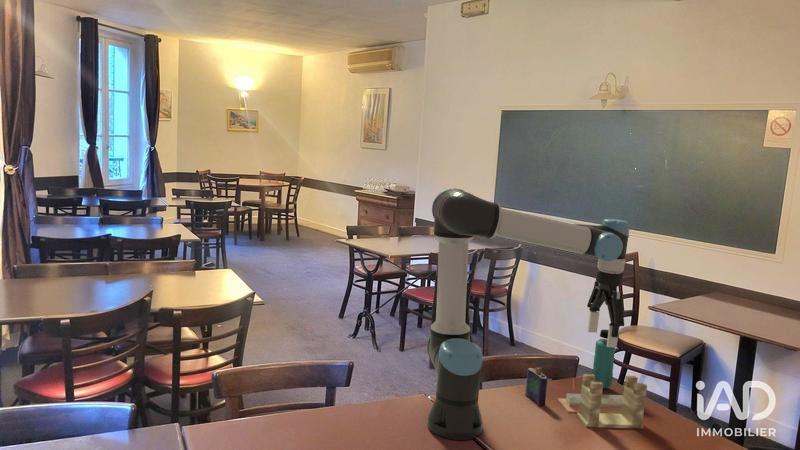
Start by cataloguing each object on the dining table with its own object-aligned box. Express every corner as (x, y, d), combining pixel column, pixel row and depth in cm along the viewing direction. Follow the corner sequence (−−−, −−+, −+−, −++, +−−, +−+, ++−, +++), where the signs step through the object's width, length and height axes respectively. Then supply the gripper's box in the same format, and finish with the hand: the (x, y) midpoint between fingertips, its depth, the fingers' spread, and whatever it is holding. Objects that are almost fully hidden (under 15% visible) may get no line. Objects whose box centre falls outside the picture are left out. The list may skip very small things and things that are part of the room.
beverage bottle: (613, 392, 191) (620, 334, 188) (593, 391, 191) (600, 333, 188) (607, 384, 197) (614, 328, 194) (587, 383, 197) (594, 327, 195)
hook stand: (586, 427, 165) (591, 383, 163) (576, 415, 172) (581, 374, 170) (643, 428, 166) (648, 385, 165) (631, 417, 173) (636, 375, 171)
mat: (567, 412, 174) (568, 411, 173) (557, 399, 182) (557, 398, 182) (634, 414, 175) (634, 413, 175) (621, 401, 184) (621, 400, 184)
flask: (523, 394, 185) (526, 362, 183) (531, 393, 186) (534, 361, 184) (539, 407, 176) (543, 373, 175) (548, 406, 177) (551, 373, 176)
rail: (569, 406, 177) (570, 397, 176) (565, 402, 180) (566, 393, 179) (625, 408, 178) (626, 399, 178) (621, 404, 181) (622, 395, 181)
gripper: (643, 281, 161) (633, 354, 163) (604, 263, 185) (596, 326, 188) (617, 279, 160) (607, 353, 163) (581, 261, 185) (573, 325, 187)
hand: (601, 339), depth 175 cm, fingers open, 13 cm apart
